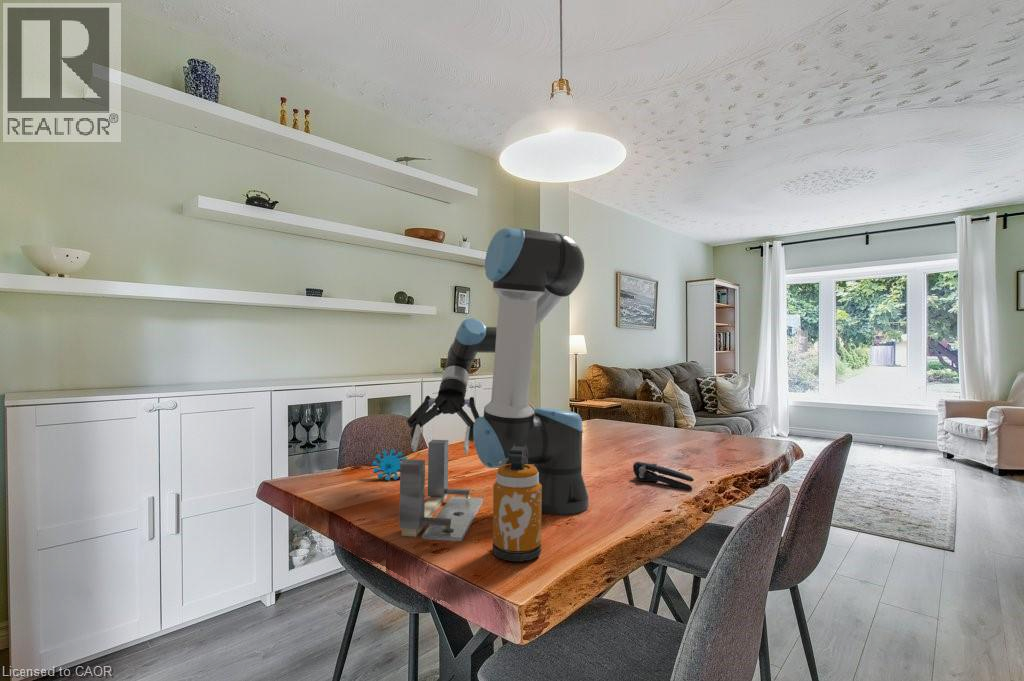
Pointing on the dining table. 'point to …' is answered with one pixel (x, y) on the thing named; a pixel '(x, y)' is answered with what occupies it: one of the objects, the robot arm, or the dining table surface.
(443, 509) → the bolt plate
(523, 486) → the canister
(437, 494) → the slide leg
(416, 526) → the grey metal fixture
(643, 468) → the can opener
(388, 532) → the dining table surface
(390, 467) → the blue spiky virus model
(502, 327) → the robot arm
